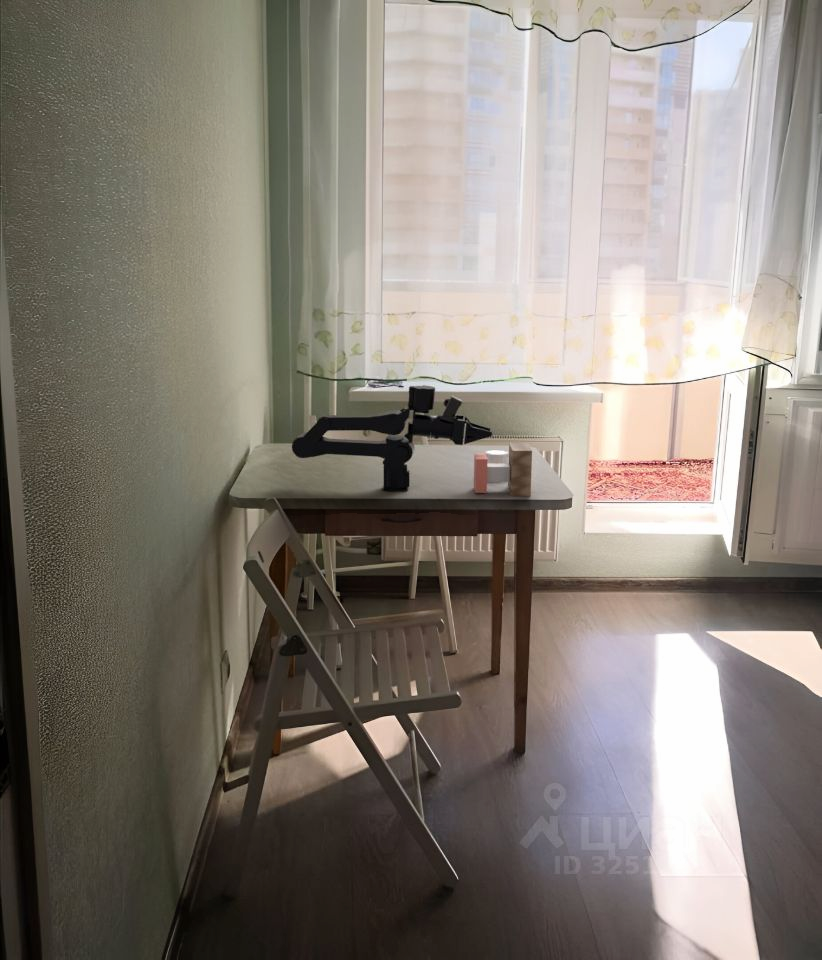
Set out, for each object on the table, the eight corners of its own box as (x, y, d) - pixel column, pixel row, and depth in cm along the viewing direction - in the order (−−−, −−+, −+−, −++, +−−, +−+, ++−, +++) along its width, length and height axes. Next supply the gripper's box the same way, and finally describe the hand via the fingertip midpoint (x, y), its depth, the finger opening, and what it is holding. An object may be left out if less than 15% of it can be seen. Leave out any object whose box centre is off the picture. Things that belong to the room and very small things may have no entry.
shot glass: (482, 473, 264) (482, 449, 262) (506, 473, 264) (506, 449, 263) (485, 479, 257) (486, 454, 256) (510, 478, 258) (510, 454, 256)
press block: (511, 495, 239) (512, 450, 237) (507, 486, 249) (509, 442, 246) (530, 496, 239) (532, 450, 237) (526, 486, 249) (527, 443, 246)
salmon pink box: (475, 492, 241) (475, 459, 239) (473, 486, 248) (474, 453, 246) (509, 492, 241) (510, 459, 239) (507, 486, 248) (508, 453, 245)
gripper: (434, 398, 231) (496, 404, 231) (434, 393, 250) (492, 399, 250) (430, 442, 233) (491, 448, 233) (430, 434, 252) (487, 439, 251)
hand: (490, 432), depth 242 cm, fingers open, 9 cm apart
